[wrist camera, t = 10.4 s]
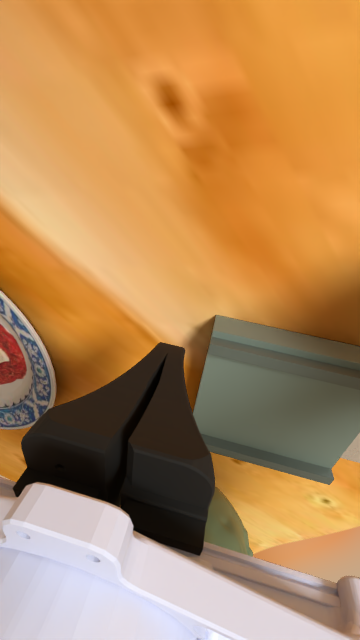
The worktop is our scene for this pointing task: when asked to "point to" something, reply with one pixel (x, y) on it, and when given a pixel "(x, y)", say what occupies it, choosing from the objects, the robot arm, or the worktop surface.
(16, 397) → the ceramic plate
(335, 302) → the worktop surface
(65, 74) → the worktop surface
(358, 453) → the cover plate
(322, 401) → the case
